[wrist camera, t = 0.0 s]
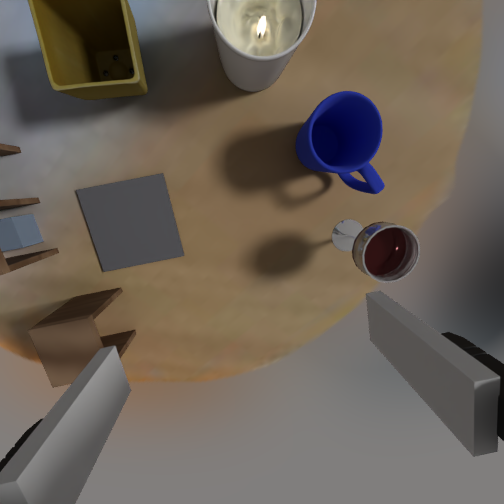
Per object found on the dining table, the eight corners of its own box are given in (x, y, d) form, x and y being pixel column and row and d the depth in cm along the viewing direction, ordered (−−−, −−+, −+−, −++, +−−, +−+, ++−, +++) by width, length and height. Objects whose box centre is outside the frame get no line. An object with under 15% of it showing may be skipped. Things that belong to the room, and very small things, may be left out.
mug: (328, 208, 41) (357, 215, 32) (277, 142, 39) (292, 128, 29) (372, 171, 40) (416, 166, 31) (323, 101, 38) (354, 72, 28)
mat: (77, 190, 38) (76, 190, 38) (163, 173, 39) (162, 173, 38) (105, 271, 41) (103, 271, 41) (184, 255, 41) (183, 255, 41)
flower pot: (148, 29, 34) (119, -23, 26) (162, 106, 37) (140, 81, 28) (76, 36, 34) (23, -14, 25) (94, 113, 36) (51, 91, 28)
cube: (3, 219, 39) (-22, 223, 35) (33, 213, 39) (11, 217, 35) (15, 247, 40) (-9, 253, 36) (43, 241, 40) (23, 247, 36)
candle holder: (286, 101, 37) (310, 64, 26) (213, 95, 37) (204, 53, 25) (293, 17, 35) (323, -66, 24) (215, 8, 34) (207, -82, 23)
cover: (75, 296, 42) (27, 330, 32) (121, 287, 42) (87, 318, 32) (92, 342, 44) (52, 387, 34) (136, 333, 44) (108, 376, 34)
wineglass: (359, 262, 44) (405, 290, 32) (319, 249, 43) (352, 274, 31) (376, 221, 42) (430, 234, 31) (335, 207, 41) (376, 216, 30)
